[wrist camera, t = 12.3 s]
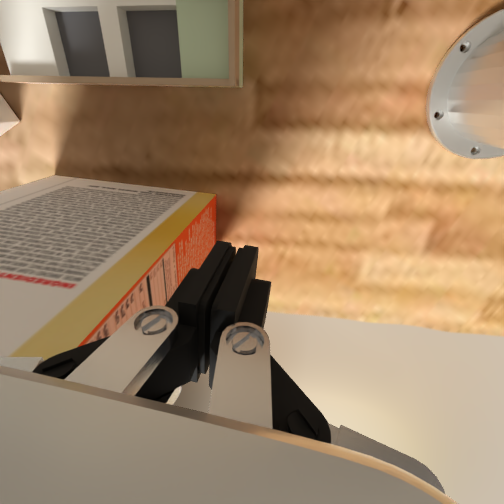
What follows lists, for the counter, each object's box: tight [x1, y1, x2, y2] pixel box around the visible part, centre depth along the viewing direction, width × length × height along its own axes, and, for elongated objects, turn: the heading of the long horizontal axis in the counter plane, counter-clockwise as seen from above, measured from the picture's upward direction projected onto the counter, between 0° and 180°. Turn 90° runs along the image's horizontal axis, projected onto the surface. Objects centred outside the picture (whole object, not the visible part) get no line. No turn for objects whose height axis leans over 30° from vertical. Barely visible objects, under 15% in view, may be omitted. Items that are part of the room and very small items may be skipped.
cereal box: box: [0, 175, 216, 361], centre depth 27 cm, size 23×8×30 cm, turn 86°
